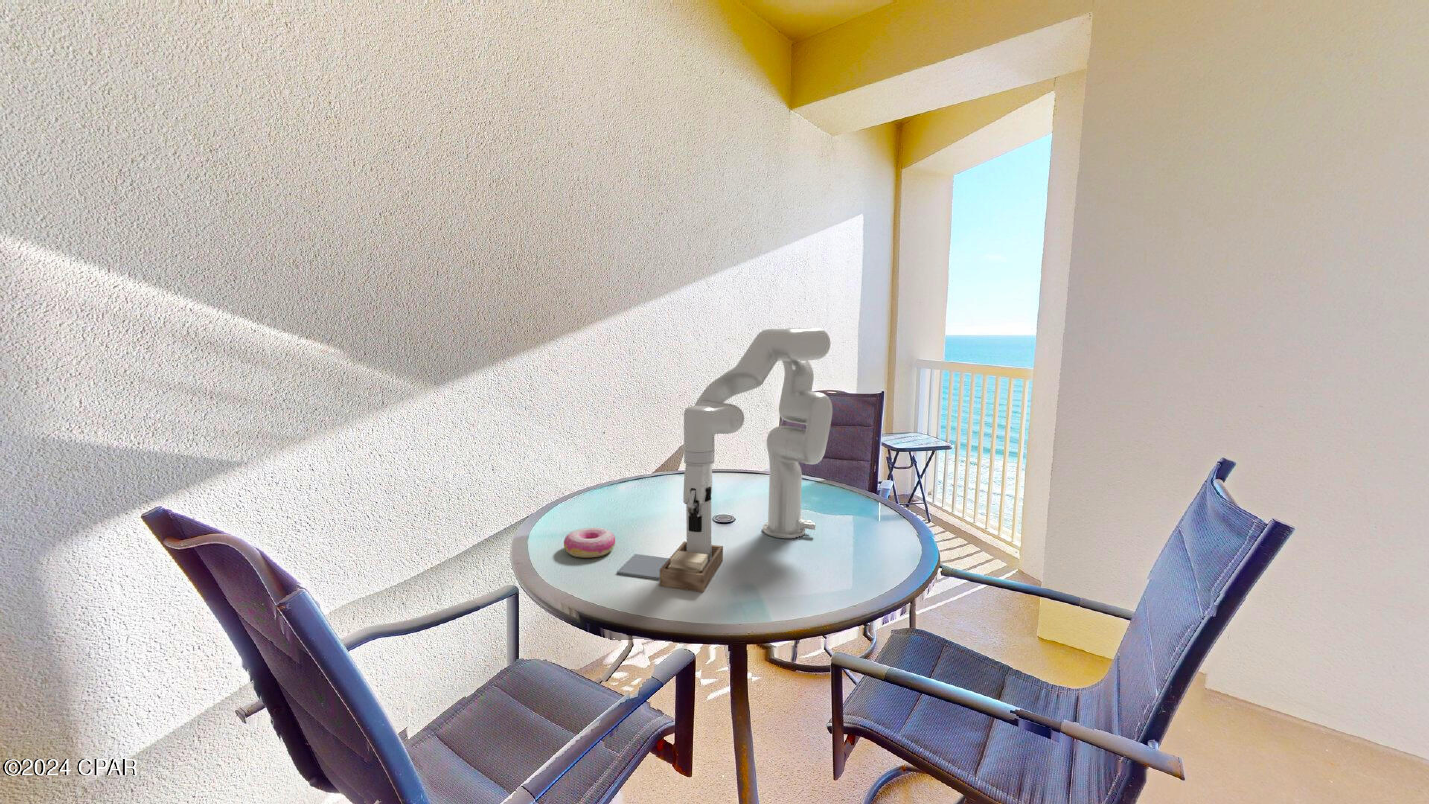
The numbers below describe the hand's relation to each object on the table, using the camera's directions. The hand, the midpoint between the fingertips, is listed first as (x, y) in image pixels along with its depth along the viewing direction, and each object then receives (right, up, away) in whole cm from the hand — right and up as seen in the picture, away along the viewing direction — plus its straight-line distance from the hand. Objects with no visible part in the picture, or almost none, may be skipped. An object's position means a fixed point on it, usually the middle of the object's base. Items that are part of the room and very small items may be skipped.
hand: (699, 525), depth 134 cm
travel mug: (0, -10, +1) cm, 10 cm away
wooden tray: (-1, -11, -3) cm, 11 cm away
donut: (-30, -9, +10) cm, 32 cm away
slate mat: (-13, -10, 0) cm, 17 cm away
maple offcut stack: (-3, -12, -7) cm, 14 cm away
